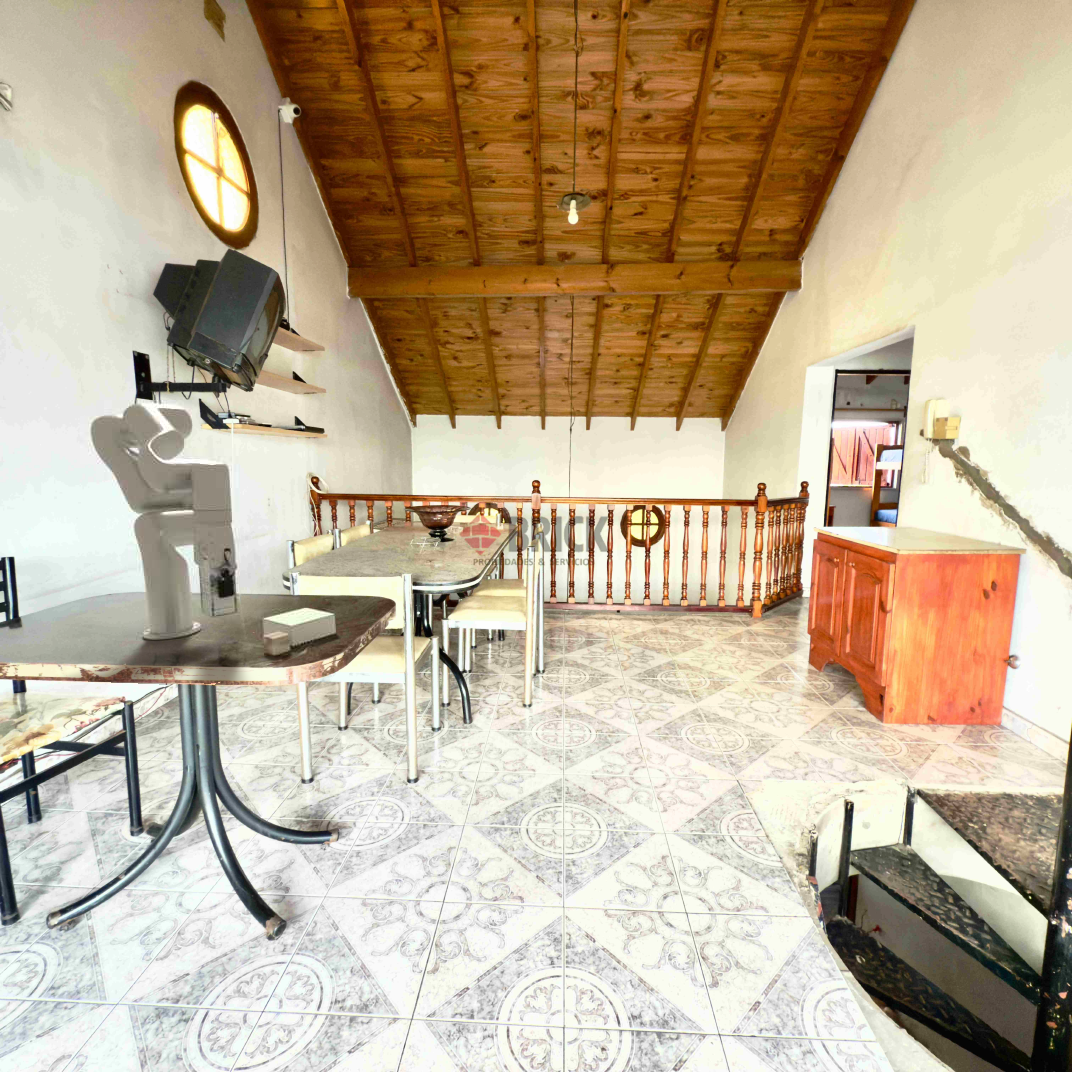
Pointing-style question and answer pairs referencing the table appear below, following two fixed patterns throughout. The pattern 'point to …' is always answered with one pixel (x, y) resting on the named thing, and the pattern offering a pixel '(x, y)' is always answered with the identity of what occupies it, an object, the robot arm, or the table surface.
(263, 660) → the table surface
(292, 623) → the podium
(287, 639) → the ash block
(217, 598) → the syrup box
